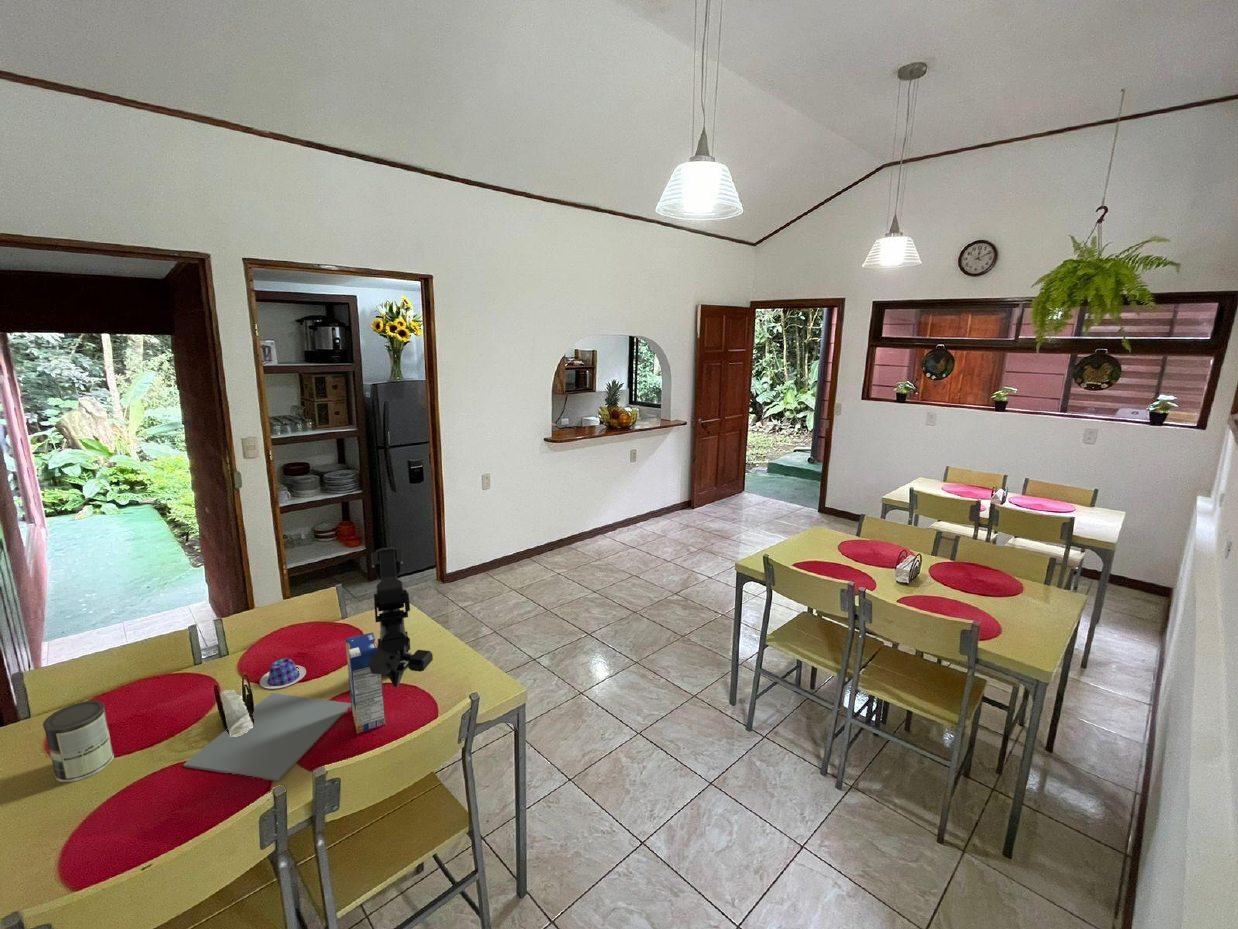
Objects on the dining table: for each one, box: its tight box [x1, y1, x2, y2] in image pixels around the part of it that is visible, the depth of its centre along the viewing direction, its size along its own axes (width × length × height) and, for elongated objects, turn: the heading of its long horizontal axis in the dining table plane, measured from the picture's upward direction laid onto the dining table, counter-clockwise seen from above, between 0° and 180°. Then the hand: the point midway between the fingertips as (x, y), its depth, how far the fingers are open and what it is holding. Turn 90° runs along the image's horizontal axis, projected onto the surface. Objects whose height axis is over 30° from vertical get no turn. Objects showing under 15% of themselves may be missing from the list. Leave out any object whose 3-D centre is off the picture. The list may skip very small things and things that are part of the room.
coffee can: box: [42, 700, 115, 783], centre depth 131 cm, size 10×10×14 cm
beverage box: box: [345, 632, 386, 735], centre depth 149 cm, size 7×11×22 cm, turn 32°
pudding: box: [259, 658, 307, 690], centre depth 168 cm, size 12×12×5 cm
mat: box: [183, 692, 352, 782], centre depth 145 cm, size 28×25×1 cm
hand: (396, 686), depth 148 cm, fingers closed
